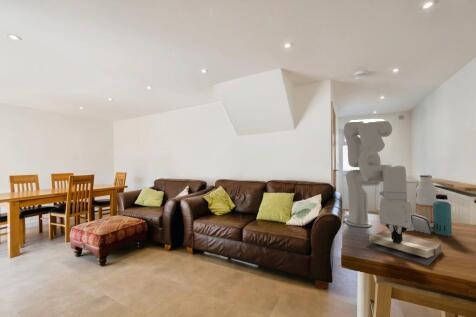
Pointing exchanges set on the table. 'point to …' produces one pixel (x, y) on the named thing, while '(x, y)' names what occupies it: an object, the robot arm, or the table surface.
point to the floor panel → (407, 255)
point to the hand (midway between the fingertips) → (397, 242)
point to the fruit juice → (426, 198)
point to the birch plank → (402, 246)
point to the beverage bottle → (442, 216)
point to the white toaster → (421, 224)
